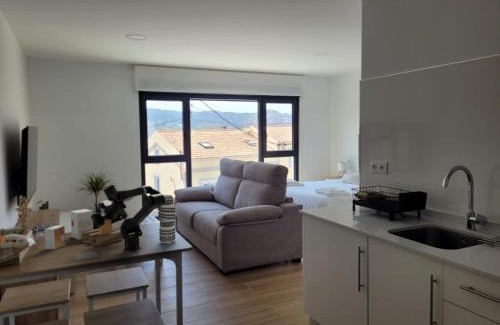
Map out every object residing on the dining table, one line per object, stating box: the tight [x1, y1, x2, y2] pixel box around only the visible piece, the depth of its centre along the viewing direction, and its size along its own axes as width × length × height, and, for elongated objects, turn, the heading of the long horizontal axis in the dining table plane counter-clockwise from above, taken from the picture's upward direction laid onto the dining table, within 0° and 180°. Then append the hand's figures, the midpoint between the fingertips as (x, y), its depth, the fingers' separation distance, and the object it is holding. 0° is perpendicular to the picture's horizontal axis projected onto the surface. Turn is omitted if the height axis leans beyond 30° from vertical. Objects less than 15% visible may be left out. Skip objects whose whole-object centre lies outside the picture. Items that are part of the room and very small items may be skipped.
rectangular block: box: [98, 214, 113, 235], centre depth 201 cm, size 2×6×12 cm, turn 144°
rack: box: [81, 228, 123, 247], centre depth 203 cm, size 16×14×5 cm
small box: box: [44, 224, 66, 250], centre depth 192 cm, size 8×6×10 cm
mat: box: [75, 251, 99, 261], centre depth 178 cm, size 9×9×1 cm
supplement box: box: [70, 208, 94, 241], centre depth 211 cm, size 9×9×15 cm
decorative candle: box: [157, 194, 176, 244], centre depth 200 cm, size 9×9×25 cm
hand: (103, 225), depth 201 cm, fingers closed on rectangular block, 6 cm apart
